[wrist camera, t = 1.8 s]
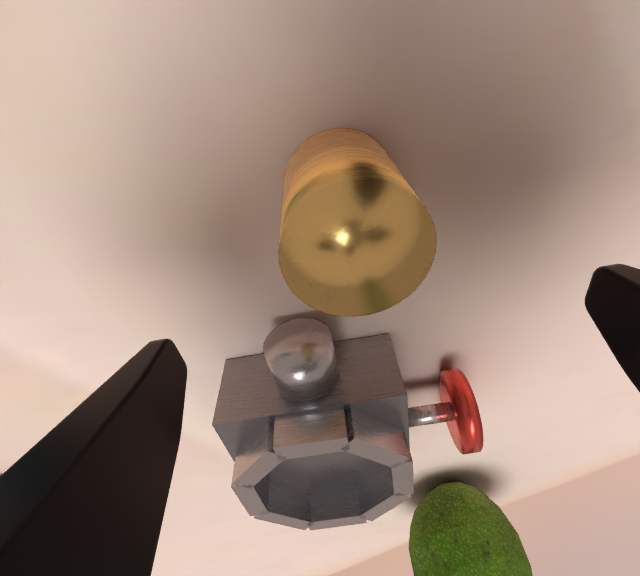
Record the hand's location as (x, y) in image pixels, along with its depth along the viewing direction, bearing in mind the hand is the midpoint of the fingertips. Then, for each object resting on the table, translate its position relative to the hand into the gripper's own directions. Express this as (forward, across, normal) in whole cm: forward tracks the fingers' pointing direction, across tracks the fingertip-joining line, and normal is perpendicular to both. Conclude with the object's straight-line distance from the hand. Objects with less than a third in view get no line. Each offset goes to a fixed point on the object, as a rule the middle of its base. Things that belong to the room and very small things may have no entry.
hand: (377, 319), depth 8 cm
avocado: (+8, -5, +27) cm, 29 cm away
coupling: (+8, 0, 0) cm, 8 cm away
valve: (+8, +1, +13) cm, 16 cm away
